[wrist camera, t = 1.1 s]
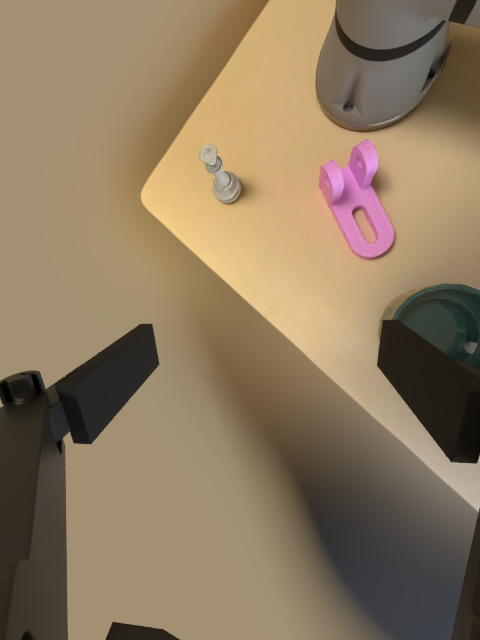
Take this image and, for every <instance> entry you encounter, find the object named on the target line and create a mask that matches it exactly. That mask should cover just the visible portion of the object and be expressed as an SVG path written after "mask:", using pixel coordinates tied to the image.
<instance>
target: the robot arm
mask: <svg viewBox="0 0 480 640" xmlns="http://www.w3.org/2000/svg"><path fill="white" fill-rule="evenodd" d="M476 1H477V2H476ZM475 3H476V4H475ZM470 12H471V13H470ZM469 14H470V15H469ZM450 21H451V22H456V23H460V24H463V25H468V26H472V27H477V28H480V0H336V10H335V15H334V18H333V21H332V23H331V26H330V28H329V31H328V34H327V36H326V39H325V42H324V44H323V47H322V49H321V52H320V55H319V59H318V65H317V70H316V94H317V99H318V102H319V104H320V107H321V108H322V110H323V112H324V113H325V115H326V116H327V117H328V118H329V119H330V120H331V121H333V122H334V123H336V124H337V125H339V126H341V127H343V128H346V129H350V130H355V131H371V130H376V129H381V128H384V127H387V126H389V125H391V124H394V123H396V122H397V121H399V120H401V119H402V118H404V117H405V116H407V115H408V114H409V113H411V112H412V111H413V110H414V109H415V108H416V107H417V106H418V105H419V104H420V103H421V102H422V100H423V99H424V98H425V96H426V95H427V93H428V92H429V90H430V88H431V87H432V85H433V83H434V81H435V79H436V77H437V75H438V73H439V70H440V68H441V65H442V62H443V59H444V55H445V50H446V44H447V38H448V31H449V25H450ZM453 38H454V36H453ZM453 38H452V40H451V42H450V44H449V46H448V49H447V52H446V56H445V59H444V62H443V66H442V69H441V72H442V70H443V68H444V67H445V65H446V62H447V58H448V55H449V51H450V48H451V45H452V41H453ZM440 74H441V73H440ZM158 365H159V360H158V354H157V348H156V343H155V337H154V332H153V326H152V324H140V325H138V326H137V327H135V328H134V329H133V330H131V331H130V332H128V333H127V334H126V335H124V336H122V337H121V338H120V339H118V340H117V341H115V342H114V343H113V344H111V345H110V346H108V347H107V348H105V349H104V350H102V351H101V352H100V353H98V354H97V355H95V356H94V357H92V358H91V359H90V360H88V361H87V362H85V363H84V364H82V365H80V366H79V367H77V368H76V369H75V370H73V371H72V372H70V373H69V374H67V375H66V376H65V377H63V378H62V379H60V380H59V381H57V382H56V383H55V384H53V385H51V386H50V387H49V388H47V389H45V386H44V383H43V380H42V377H41V374H40V372H39V371H25V372H21V373H17V374H14V375H11V376H9V377H7V378H5V379H3V380H1V381H0V399H1V401H2V404H3V407H0V640H68V630H67V629H68V624H67V555H66V553H67V549H66V475H65V444H64V441H63V437H64V436H65V435H66V434H67V433H68V432H69V431H70V433H71V436H72V439H73V442H74V443H79V444H92V442H93V441H94V440H95V439H96V438H97V437H98V435H99V434H100V433H101V432H102V431H103V430H104V428H105V427H106V426H107V425H108V424H109V423H110V421H111V420H112V419H113V418H114V417H115V416H116V414H117V413H118V412H119V411H120V410H121V409H122V407H123V406H124V405H125V404H126V403H127V402H128V400H129V399H130V398H131V397H132V396H133V394H134V393H135V392H136V391H137V390H138V389H139V388H140V386H141V385H142V384H143V383H144V382H145V381H146V379H147V378H148V377H149V376H150V375H151V374H152V372H153V371H154V370H155V369H156V368H157V367H158ZM377 366H378V367H379V369H380V370H381V371H382V373H383V374H384V375H385V376H386V378H387V379H388V380H389V382H390V383H391V384H392V386H393V387H394V388H395V389H396V391H397V392H398V393H399V395H400V396H401V397H402V399H403V400H404V401H405V402H406V404H407V405H408V406H409V408H410V409H411V410H412V412H413V413H414V414H415V415H416V417H417V418H418V419H419V421H420V422H421V423H422V425H423V426H424V427H425V429H426V430H427V431H428V432H429V434H430V435H431V436H432V438H433V439H434V440H435V442H436V443H437V444H438V445H439V447H440V448H441V449H442V451H443V452H444V453H445V455H446V456H447V457H448V458H449V460H450V461H451V462H457V463H477V462H478V458H479V455H480V371H478V370H477V369H475V368H474V367H472V366H470V365H468V364H465V363H463V362H461V361H455V360H454V359H452V358H451V357H449V356H448V355H447V354H445V353H444V352H442V351H441V350H440V349H438V348H437V347H435V346H434V345H433V344H431V343H430V342H428V341H427V340H426V339H424V338H423V337H421V336H420V335H419V334H417V333H416V332H414V331H413V330H412V329H410V328H409V327H407V326H406V325H405V324H403V323H402V322H400V321H399V320H382V329H381V337H380V346H379V354H378V363H377ZM106 640H179V639H178V638H176V637H175V636H173V635H171V634H170V633H168V632H167V631H165V630H163V629H157V628H150V627H144V626H137V625H130V624H123V623H116V622H113V623H112V625H111V628H110V630H109V633H108V635H107V637H106ZM451 640H480V509H479V513H478V518H477V523H476V527H475V532H474V536H473V541H472V545H471V550H470V555H469V559H468V564H467V568H466V573H465V578H464V582H463V587H462V591H461V596H460V601H459V605H458V610H457V614H456V619H455V623H454V628H453V633H452V637H451Z"/></svg>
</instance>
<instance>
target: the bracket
mask: <svg viewBox="0 0 480 640" xmlns="http://www.w3.org/2000/svg"><path fill="white" fill-rule="evenodd" d="M377 169H378V156H377V152H376V150H375V147H374V145H373V144H372V143H371V141H369V140H365V141H363V142H361V143H360V144H358V145H356V146H355V147H353V149H352V153H351V157H350V160H349V164H348V165H347V166H346V167H344V168H342V169H341V170H340V168H339V166H338V165H337V163H336V162H335V161H334V160H331V161H329V162H327V163H326V164H324V165H322V166H321V167H320V179H319V187H320V189H321V191H322V193H323V195H324V198H325V200H326V202H327V204H328V206H329V208H330V210H331V212H332V214H333V216H334V218H335V220H336V222H337V224H338V226H339V228H340V230H341V232H342V234H343V236H344V238H345V240H346V242H347V244H348V246H349V248H350V250H351V251H352V253H353V254H355V255H356V256H358V257H360V258H364V259H371V258H375V257H377V256H379V255H381V254H382V253H384V252H385V251H386V250H387V249H388V248H389V247H390V246H391V244H392V242H393V239H394V230H393V227H392V225H391V223H390V221H389V219H388V217H387V215H386V213H385V211H384V209H383V207H382V205H381V203H380V201H379V199H378V197H377V195H376V193H375V191H374V189H373V187H372V185H371V181H372V179H373V177H374V175H375V173H376V171H377ZM355 209H361V210H363V212H364V214H365V216H366V218H367V220H368V222H369V224H370V226H371V228H372V229H373V231H374V233H375V235H376V241H375V242H374V243H368V242H366V241H365V240H364V238H363V236H362V234H361V232H360V230H359V228H358V226H357V224H356V222H355V220H354V218H353V216H352V211H353V210H355Z"/></svg>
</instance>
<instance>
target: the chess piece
mask: <svg viewBox="0 0 480 640" xmlns="http://www.w3.org/2000/svg"><path fill="white" fill-rule="evenodd" d="M199 157H200V160H201V161H202V162H203V163H206V169H207V171H208V172H209V173H210V174H214V176H215V177H214V181H213V184H212V190H213V193H214V195H215V197H216V198H217V199H218V200H219V201H220V202H222V203H231V202H233V201H235V200H236V199H237V198H238V196H239V195H240V192H241V184H240V181H239V180H238V178H237V176H236V175H235V174H234V173H232V172H228V171H223V170H222V167H223V162H222V160H221V158H220V157H219V156H217V149H216V148H215V146H214V145H212V144H206V145H204V146H203V147H202V148H201V150H200V152H199Z"/></svg>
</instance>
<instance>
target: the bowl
mask: <svg viewBox="0 0 480 640" xmlns="http://www.w3.org/2000/svg"><path fill="white" fill-rule="evenodd" d="M382 320H399V321H400V322H402V323H403V324H405V325H406V326H407V327H409V328H410V329H412V330H413V331H414V332H416V333H417V334H419V335H420V336H421V337H423V338H424V339H426V340H427V341H428V342H430V343H431V344H433V345H434V346H435V347H437V348H438V349H440V350H441V351H442V352H444V353H445V354H447V355H448V356H449V357H451V358H452V359H454V360H455V361H461V362H463V363H465V364H468V365H470V366H472V367H474V368H475V369H477V370H478V371H480V290H477V289H474V288H472V287H469V286H466V285H460V284H439V285H434V286H428V287H423V288H418V289H414V290H410V291H408V292H406V293H404V294H403V295H401V296H399V297H397V298H396V299H395V300H394V301H393V302H392V303H391V304H390V305H389V306H388V307H387V308H386V310H385V312H384V314H383V316H382V318H381V320H380V325H379V339H380V337H381V329H382Z"/></svg>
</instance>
